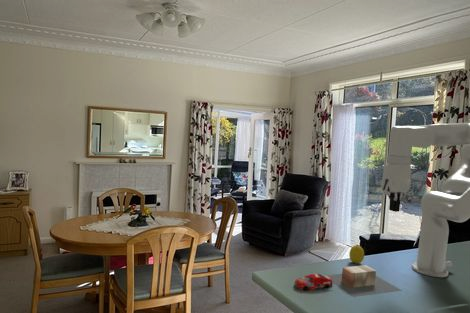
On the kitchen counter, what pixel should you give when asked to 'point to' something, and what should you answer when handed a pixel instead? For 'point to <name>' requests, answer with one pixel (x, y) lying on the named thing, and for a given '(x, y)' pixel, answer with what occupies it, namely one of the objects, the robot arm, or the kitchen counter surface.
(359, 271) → the wooden block
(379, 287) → the rubber mat
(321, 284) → the race car
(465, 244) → the kitchen counter surface
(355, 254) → the lemon
